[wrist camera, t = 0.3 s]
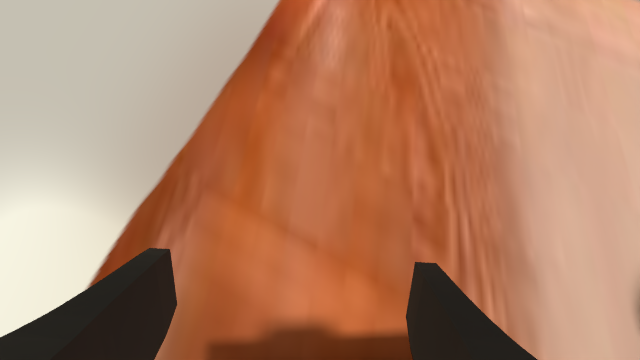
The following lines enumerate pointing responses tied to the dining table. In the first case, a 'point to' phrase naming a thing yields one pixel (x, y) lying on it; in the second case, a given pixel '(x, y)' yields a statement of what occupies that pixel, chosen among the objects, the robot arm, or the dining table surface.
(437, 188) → the dining table surface
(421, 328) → the robot arm
